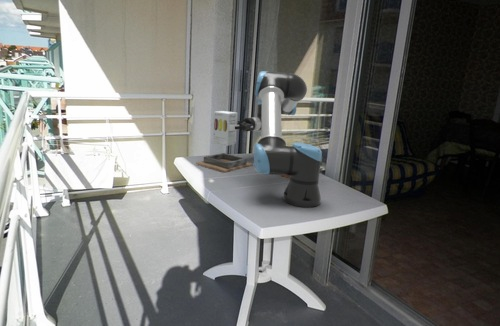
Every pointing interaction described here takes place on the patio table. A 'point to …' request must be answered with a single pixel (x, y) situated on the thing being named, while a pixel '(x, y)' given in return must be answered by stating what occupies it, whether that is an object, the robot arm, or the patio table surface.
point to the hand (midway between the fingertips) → (221, 126)
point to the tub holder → (224, 162)
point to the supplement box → (224, 128)
